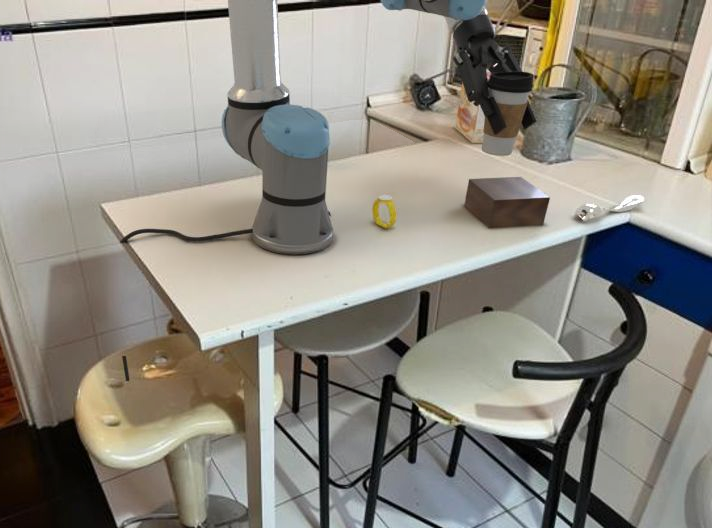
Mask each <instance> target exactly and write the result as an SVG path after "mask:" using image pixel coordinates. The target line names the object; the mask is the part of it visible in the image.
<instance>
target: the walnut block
mask: <svg viewBox="0 0 712 528" xmlns="http://www.w3.org/2000/svg"><path fill="white" fill-rule="evenodd" d="M550 200H551V197H550V196H549V195H548V194H546V193H544V192H543V191H542V190H540V189H539V188H537V187H536V186H535V185H533V184H532V183H530V182H529V181H528V180H527V179H525V178H524V177H523V176H507V177H482V178H469V179H468V182H467V188H466V193H465V199H464V204H463V206H464V207H465V208H466V209H467V210H468V211H469V212H471V213H472V214H473V215H474V216H475V217H476V218H477V219H478V220H479V221H481V222H482V223H483V225H485V226H486V227H487V228H488V229H497V228H498V229H500V228H516V227H533V226H544V224H545V220H546V216H547V212H548V208H549V204H550Z"/></svg>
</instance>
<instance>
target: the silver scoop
mask: <svg viewBox="0 0 712 528" xmlns="http://www.w3.org/2000/svg"><path fill="white" fill-rule="evenodd" d="M633 199H636V201H635V200H634V201H632V200H633ZM644 201H645V198H644V197H643V196H642V195H631V196H629V197H626V198H625V199H623V200H622V202H620V203H619V204H618V205H616V206H615V207H613V208H608V207H603V206H600V205H598V204H593V203H585V204H581V205H579V206H578V207H577V208H576V209H575V210H574V218H575V220H576V221H578V222H586V221H588V220H591V219H593V218H595V217H597V216H599V215H601V214H602V213H603V211H610V212H615V213H622V212H626V211H630V210H632V209H635V208H637V207H639V206H641V205H642V204H643V203H644Z"/></svg>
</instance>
